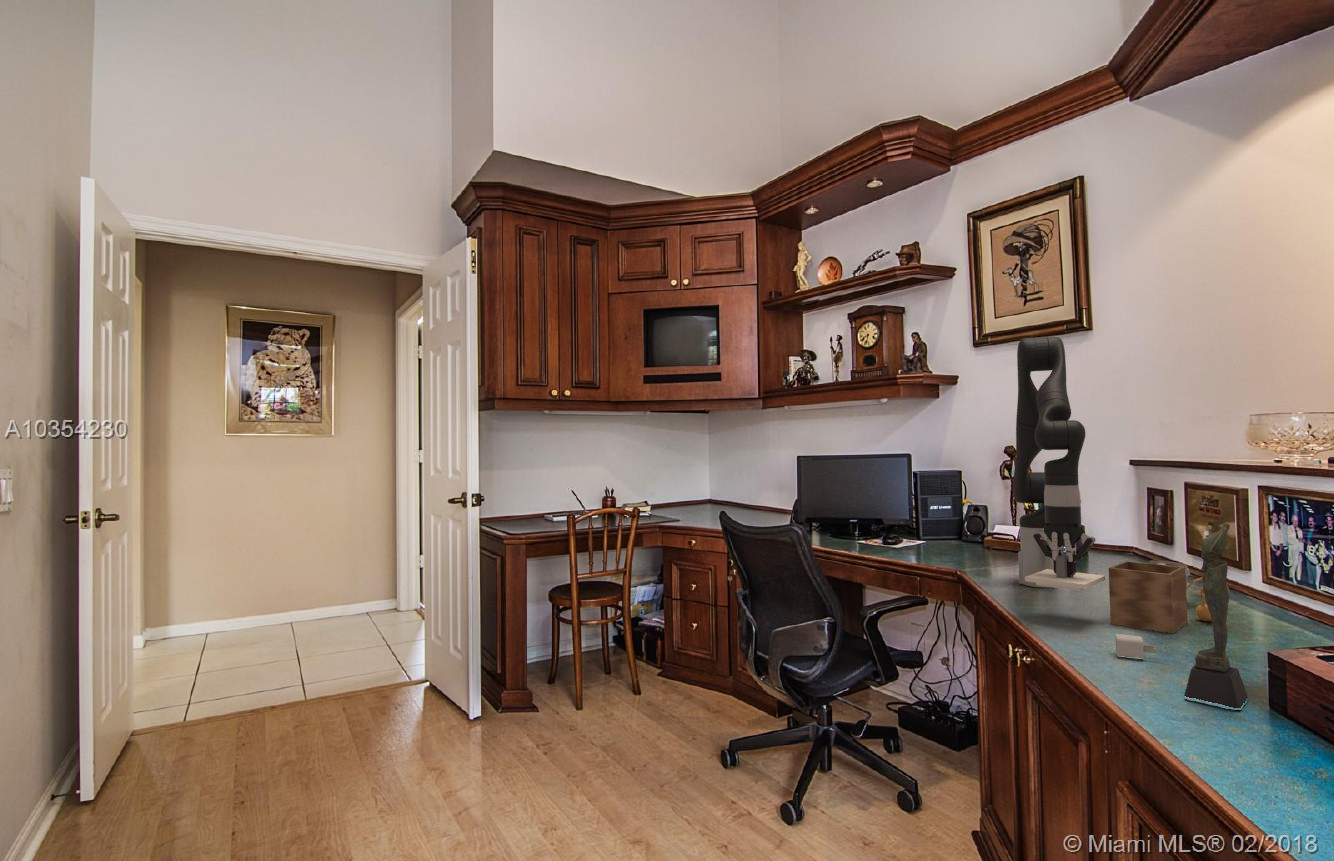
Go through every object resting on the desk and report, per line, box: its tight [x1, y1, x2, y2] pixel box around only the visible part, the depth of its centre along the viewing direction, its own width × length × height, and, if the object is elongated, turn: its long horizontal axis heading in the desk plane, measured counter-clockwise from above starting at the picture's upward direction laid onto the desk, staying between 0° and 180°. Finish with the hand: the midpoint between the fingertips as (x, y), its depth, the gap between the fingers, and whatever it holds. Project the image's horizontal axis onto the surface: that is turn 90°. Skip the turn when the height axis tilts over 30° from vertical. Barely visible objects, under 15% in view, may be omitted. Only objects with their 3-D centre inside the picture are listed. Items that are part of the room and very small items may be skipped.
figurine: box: [1186, 576, 1231, 622], centre depth 158 cm, size 8×6×12 cm
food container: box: [1149, 560, 1191, 588], centre depth 176 cm, size 12×6×10 cm, turn 168°
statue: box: [1183, 520, 1249, 708], centre depth 113 cm, size 7×8×30 cm
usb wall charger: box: [1115, 633, 1160, 659], centre depth 135 cm, size 4×7×4 cm, turn 60°
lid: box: [1025, 553, 1106, 592], centre depth 162 cm, size 13×13×7 cm
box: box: [1108, 560, 1189, 634], centre depth 158 cm, size 12×12×13 cm
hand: (1065, 575), depth 162 cm, fingers closed on lid
